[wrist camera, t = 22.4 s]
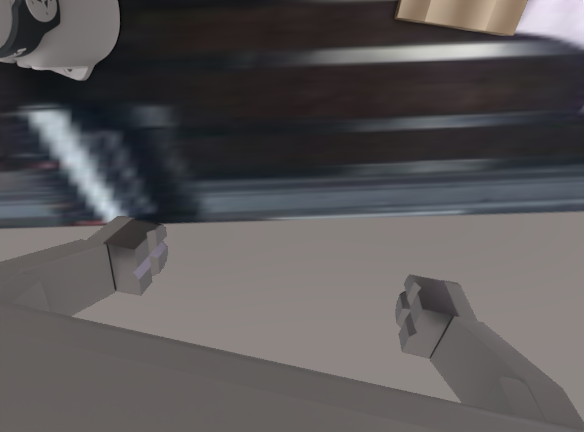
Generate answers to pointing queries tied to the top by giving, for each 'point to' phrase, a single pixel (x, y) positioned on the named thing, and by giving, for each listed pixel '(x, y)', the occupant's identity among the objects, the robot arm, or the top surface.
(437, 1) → the socket block
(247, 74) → the top surface
